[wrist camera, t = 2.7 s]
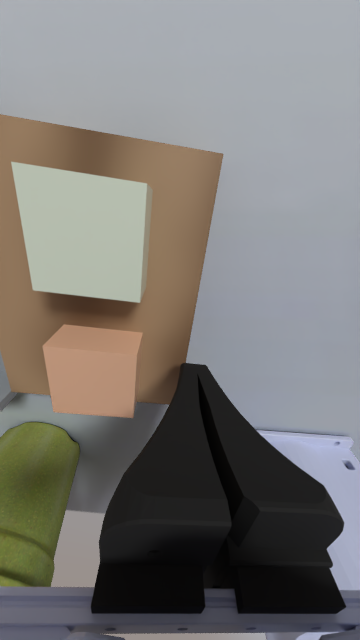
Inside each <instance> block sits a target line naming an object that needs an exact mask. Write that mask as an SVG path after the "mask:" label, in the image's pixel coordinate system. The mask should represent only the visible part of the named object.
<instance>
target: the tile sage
mask: <svg viewBox="0 0 360 640" xmlns="http://www.w3.org/2000/svg"><path fill="white" fill-rule="evenodd" d="M11 164H12V170H13V176H14V182H15V188H16V194H17V200H18V205H19V211H20V217H21V223H22V229H23V235H24V241H25V247H26V252H27V258H28V264H29V270H30V276H31V282H32V288H33V290H34V291H43V292H52V293H60V294H69V295H77V296H86V297H94V298H103V299H112V300H120V301H129V302H137V303H140V302H141V299H142V296H143V294H144V291H145V289H146V280H147V266H148V252H149V237H150V223H151V209H152V194H153V189H152V188H151V187H150V186H149V185H148V184H147V183H141V182H135V181H129V180H122V179H116V178H110V177H104V176H98V175H91V174H85V173H79V172H73V171H66V170H60V169H54V168H48V167H42V166H35V165H29V164H23V163H17V162H11Z"/></svg>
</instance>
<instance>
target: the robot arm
mask: <svg viewBox="0 0 360 640" xmlns="http://www.w3.org/2000/svg"><path fill="white" fill-rule="evenodd" d="M353 444H354V442H353V440H352V439H351V438H350V437H346V436H332V435H319V434H305V433H291V432H277V431H263V430H255V429H254V428H253V427H252V426H251V425H250V424H249V422H248V421H247V420H246V419H245V418H244V417H243V416H242V415H241V414H240V413H239V411H238V410H237V409H236V408H235V406H234V405H233V404H232V403H231V401H230V400H229V399H228V397H227V396H226V395H225V393H224V392H223V390H222V389H221V388H220V386H219V385H218V383H217V382H216V380H215V379H214V377H213V375H212V374H211V372H210V371H209V369H208V367H207V366H206V365H200V364H189V363H182V364H181V366H180V372H179V378H178V383H177V388H176V391H175V393H174V396H173V398H172V400H171V403H170V405H169V407H168V409H167V411H166V413H165V415H164V417H163V419H162V420H161V422H160V424H159V426H158V427H157V429H156V431H155V432H154V434H153V435H152V437H151V438H150V440H149V441H148V443H147V444H146V446H145V447H144V448H143V450H142V451H141V453H140V454H139V455H138V457H137V458H136V459H135V460H134V462H133V463H132V464H131V465H130V467H129V468H128V469H127V471H126V472H125V473H124V475H123V477H122V479H121V481H120V483H119V485H118V487H117V489H116V491H115V493H114V495H113V497H112V499H111V501H110V503H109V506H108V508H107V511H106V514H105V517H104V521H103V525H102V530H101V535H100V540H99V549H100V565H99V569H98V574H97V579H96V583H95V587H11V586H0V640H125V639H124V638H121V637H114V636H109V635H103V634H119V633H120V634H123V633H124V634H126V633H128V634H129V633H266V639H267V640H360V462H359V461H358V460H357V458H356V457H355V456H354V454H353V453H352V452H351V450H350V448H351V447H352V445H353Z"/></svg>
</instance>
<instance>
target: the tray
mask: <svg viewBox="0 0 360 640" xmlns="http://www.w3.org/2000/svg"><path fill="white" fill-rule="evenodd" d="M17 393H18V392H11V388H10V384H9V381H8V377H7V373H6V370H5V366H4V363H3V359H2V355H1V352H0V411H2V410H3V409H4V408H5V407H6V406H7V405H8V403H9V402H10V401H11V400H12V399H13V398H14V397H15V395H16V394H17Z"/></svg>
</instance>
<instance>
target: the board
mask: <svg viewBox="0 0 360 640" xmlns="http://www.w3.org/2000/svg"><path fill="white" fill-rule="evenodd" d="M222 159H223V154H221V153H215V152H210V151H204V150H199V149H193V148H187V147H182V146H176V145H170V144H165V143H159V142H153V141H148V140H142V139H136V138H131V137H125V136H119V135H114V134H108V133H102V132H97V131H91V130H86V129H80V128H74V127H69V126H63V125H57V124H52V123H46V122H40V121H35V120H29V119H23V118H18V117H12V116H6V115H1V114H0V352H1V355H2V359H3V363H4V366H5V370H6V373H7V377H8V381H9V384H10V388H11V392H20V393H32V394H45V395H51V393H50V388H49V382H48V376H47V370H46V364H45V358H44V352H43V345H44V344H45V343H46V342H47V341H48V340H49V339H50V338H51V337H52V336H53V335H54V334H55V333H56V332H57V331H58V330H59V329H60V328H61V327H62V326H63V325H64V324H65V325H74V326H84V327H93V328H103V329H112V330H122V331H131V332H141V333H143V338H142V352H141V367H140V381H139V392H138V397H137V402H145V403H158V404H170V403H171V400H172V398H173V396H174V393H175V391H176V388H177V383H178V378H179V372H180V366H181V364H182V363H185V362H186V357H187V351H188V346H189V340H190V335H191V329H192V324H193V318H194V313H195V307H196V302H197V296H198V291H199V285H200V280H201V274H202V269H203V263H204V258H205V252H206V247H207V241H208V236H209V230H210V225H211V219H212V214H213V208H214V203H215V197H216V192H217V186H218V181H219V175H220V170H221V164H222ZM11 162H17V163H23V164H29V165H35V166H42V167H48V168H54V169H60V170H66V171H73V172H79V173H85V174H91V175H98V176H104V177H110V178H116V179H122V180H129V181H135V182H141V183H147V184H148V185H149V186H150V187H151V188H152V189H153V194H152V209H151V223H150V237H149V252H148V266H147V280H146V289H145V291H144V294H143V296H142V299H141V302H140V303H137V302H129V301H120V300H112V299H103V298H94V297H86V296H77V295H69V294H60V293H52V292H43V291H34V290H33V288H32V282H31V276H30V270H29V264H28V258H27V252H26V247H25V241H24V235H23V229H22V223H21V217H20V211H19V205H18V200H17V194H16V188H15V182H14V176H13V170H12V164H11Z"/></svg>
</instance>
